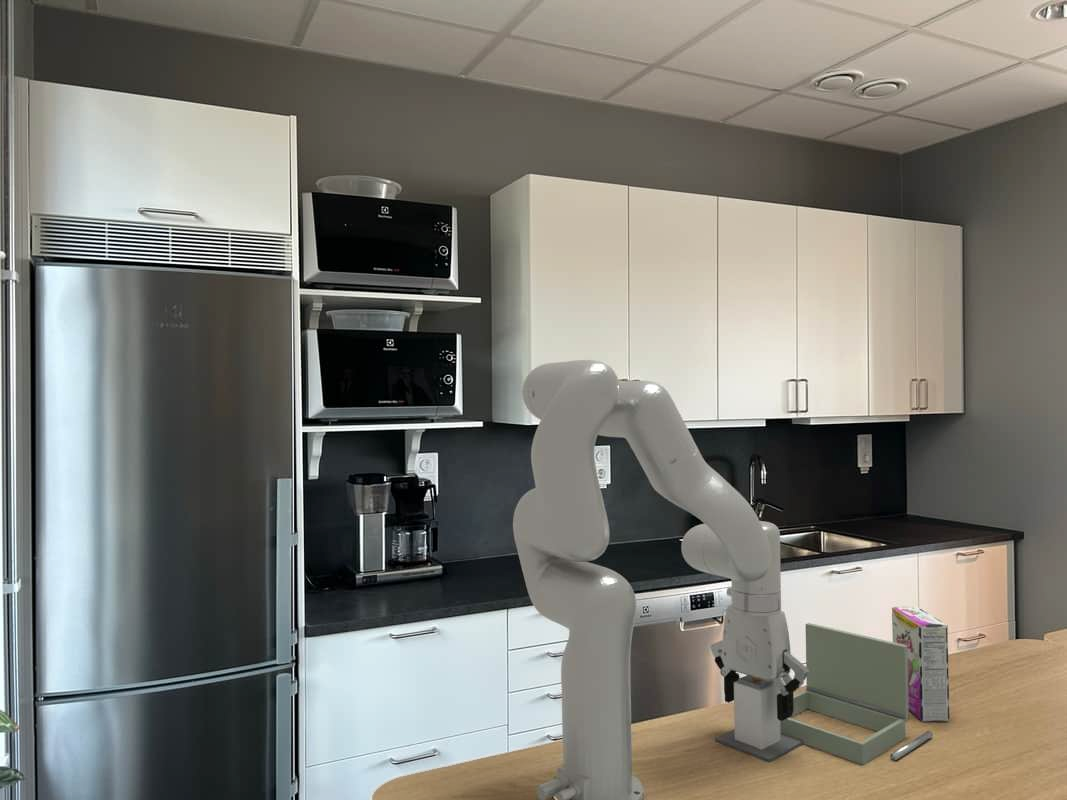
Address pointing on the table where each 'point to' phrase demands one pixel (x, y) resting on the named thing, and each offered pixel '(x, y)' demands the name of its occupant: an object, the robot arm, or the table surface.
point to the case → (852, 692)
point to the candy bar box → (924, 662)
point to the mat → (765, 754)
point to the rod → (911, 745)
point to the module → (756, 712)
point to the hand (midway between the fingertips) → (757, 708)
